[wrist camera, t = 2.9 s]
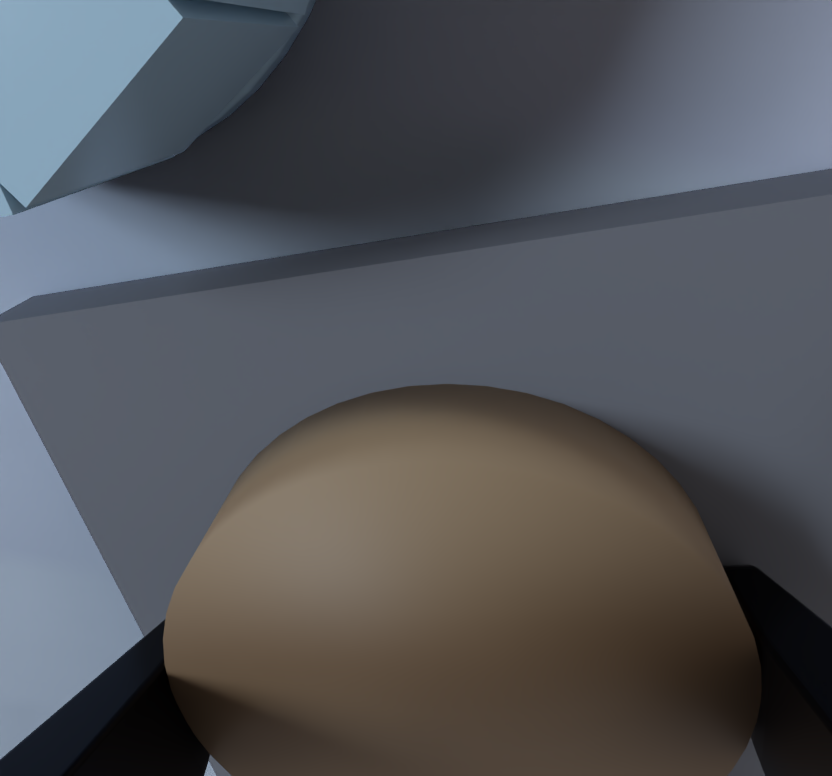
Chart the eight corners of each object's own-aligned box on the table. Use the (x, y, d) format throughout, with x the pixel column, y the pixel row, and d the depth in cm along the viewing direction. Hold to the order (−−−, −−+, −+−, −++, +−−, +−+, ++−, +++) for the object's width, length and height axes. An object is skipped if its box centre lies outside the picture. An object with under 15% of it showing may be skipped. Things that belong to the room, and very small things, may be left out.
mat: (783, 751, 11) (808, 810, 11) (252, 760, 13) (235, 811, 12) (849, 166, 7) (900, 182, 6) (32, 296, 9) (-19, 324, 8)
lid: (711, 754, 10) (747, 868, 9) (288, 761, 11) (259, 863, 10) (724, 348, 7) (783, 425, 6) (139, 418, 8) (66, 495, 7)
